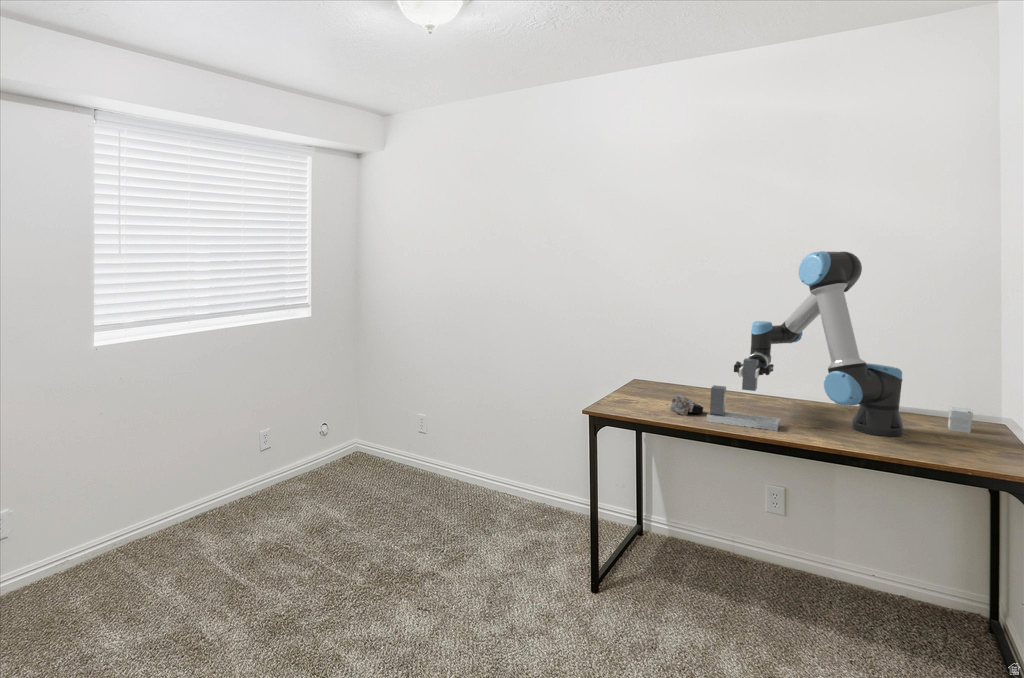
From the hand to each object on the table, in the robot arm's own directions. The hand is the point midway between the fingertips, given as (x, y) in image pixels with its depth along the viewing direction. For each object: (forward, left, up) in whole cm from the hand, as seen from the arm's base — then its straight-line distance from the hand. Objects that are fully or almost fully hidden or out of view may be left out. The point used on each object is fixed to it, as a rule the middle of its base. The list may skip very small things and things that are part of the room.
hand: (748, 373), depth 204 cm
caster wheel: (+22, -6, -19) cm, 30 cm away
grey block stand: (+1, -1, -19) cm, 19 cm away
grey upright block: (0, -5, -7) cm, 8 cm away
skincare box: (-66, -31, -19) cm, 75 cm away
